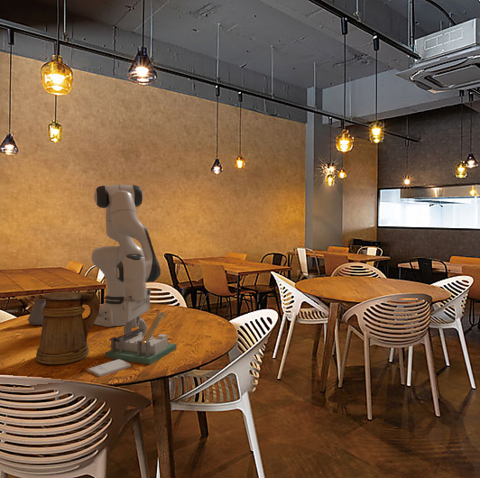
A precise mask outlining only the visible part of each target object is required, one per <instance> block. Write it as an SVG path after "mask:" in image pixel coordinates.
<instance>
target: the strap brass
mask: <svg viewBox="0 0 480 478" xmlns="http://www.w3.org/2000/svg"><path fill="white" fill-rule="evenodd" d="M165 317H166V314H165V312H161V311H159V312H158V313H157V314H156V316H155V318H154V319H153V320H152V321H153V322H152V323H151V325H150V326H149V327H148V328H147V330H146V333H145V335H144V336H143V337H144V338H143V339H142V341H141V342H140V345H143V346H146V342H148V341H149V340H150V338H151V337H153V334H154V333H155V331H156V329H157V328H158V326H159V324H160V323H161V321H162V319H163V318H165Z"/></svg>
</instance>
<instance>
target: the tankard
mask: <svg viewBox="0 0 480 478" xmlns="http://www.w3.org/2000/svg"><path fill="white" fill-rule="evenodd" d="M40 298H43V299H46V304H45V306H44V307H43V310H42V311H43V312H42V315H44V317H43V324H42V326H41V333H40V339H39V345H38V348H37V349H36V355H35V360H36V362H38V363H40V364H44V365H66V364H70V363H76V362H78V361H82V360H83V359H84V358H86V357H87V356H88V355H89V350H90V348H89V344H88V342H87V341H88V335H89V332H90V329H91V328H92V326H93V325H94V324H93V323H94V322H95V320H96V318H97V316H98V313H99V309H100V306H101V305H100V304H101V303H100V298H99V297H98V295H97V293H96V290H95V289H91V290H86V291H72V292H71V291H63V292H62V291H61V292H59V291H57V292H50V293H46V294H45V293H44V294H42V295H41V296H40ZM83 306H88V307H89V311H90V312H89V314H88V315H87V316H86V317H85V318H84V316H83V313H84V312H85V311H86V308H85V307H83ZM75 361H76V362H75Z"/></svg>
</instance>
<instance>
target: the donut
mask: <svg viewBox="0 0 480 478" xmlns="http://www.w3.org/2000/svg"><path fill="white" fill-rule="evenodd" d="M132 329H133V328H132V323H131V321H130V322H126V323H125V325H123V333H124V334H127V333H129V332H131V331H133V330H132ZM138 329H144V333H143V334H142V337H144V336H145V334H146V333H147V331H148V327H147V322H145V320H144V319H143V318H140V321H139V326H138ZM124 334H123V335H124Z"/></svg>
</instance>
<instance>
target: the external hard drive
mask: <svg viewBox="0 0 480 478" xmlns="http://www.w3.org/2000/svg"><path fill="white" fill-rule="evenodd" d="M131 367H132V364H131V363H129V362H128V361H125V360H120V359H113V360H111V361H108V362H105V363H102V364H98V365H95V366H92V367H88V368H87V372H89V373H90V374H93V375H95V376H97V377H99V378H100V377H103V376H107V375H109V374H113V373H116V372H119V371H120V372H121V371H122V370H126V369H129V368H131Z"/></svg>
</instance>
